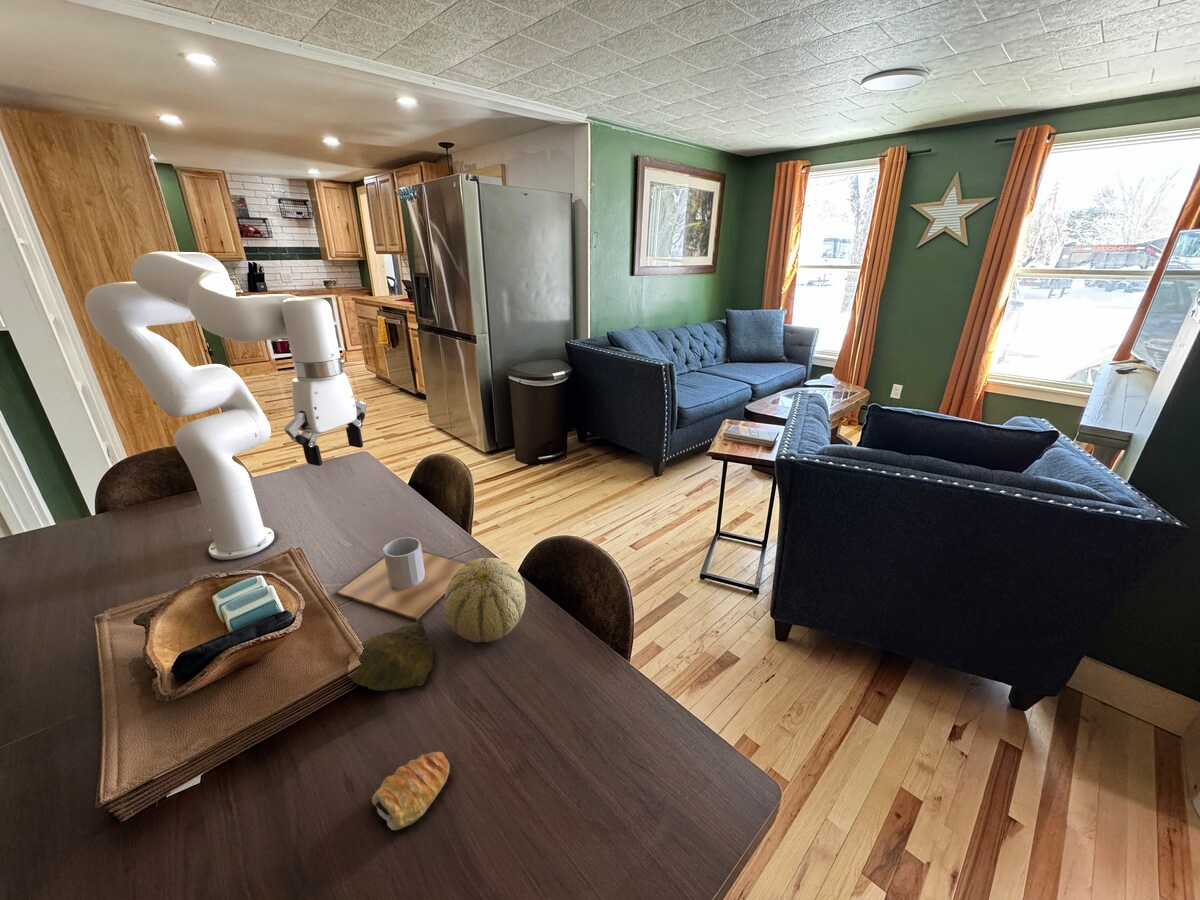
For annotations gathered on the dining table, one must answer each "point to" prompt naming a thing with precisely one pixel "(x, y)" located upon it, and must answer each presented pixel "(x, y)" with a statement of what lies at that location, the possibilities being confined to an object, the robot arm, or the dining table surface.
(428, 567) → the board
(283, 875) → the dining table surface
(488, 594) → the cantaloupe
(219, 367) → the robot arm
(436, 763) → the pastry
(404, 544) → the pot
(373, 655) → the pottery fragment
